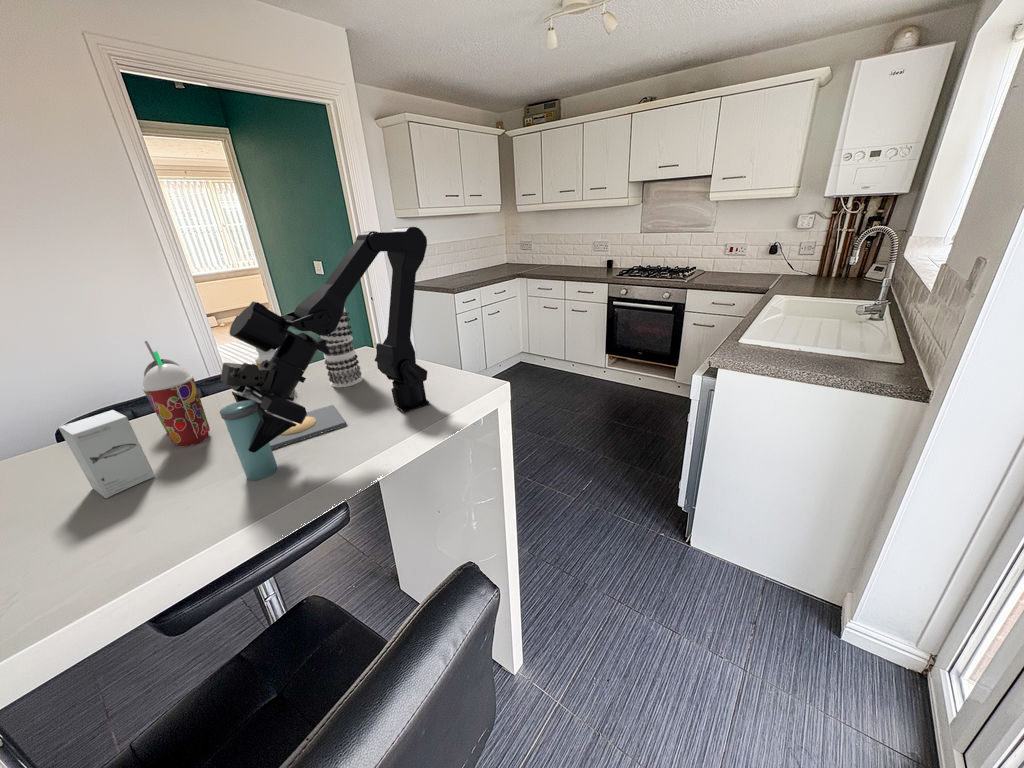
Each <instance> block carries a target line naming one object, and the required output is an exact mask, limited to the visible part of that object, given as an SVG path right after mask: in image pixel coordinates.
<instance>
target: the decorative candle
mask: <svg viewBox="0 0 1024 768" xmlns="http://www.w3.org/2000/svg"><path fill="white" fill-rule="evenodd" d="M349 315H350V313H349V312H348V311H346V305H345V306H344V313H343V315H342V317H341V319H340V322H339V324H338V326H337V328H336V329H335V330H334V331H333V332H332V333H331V334H327V335H318V337H317V339H319V338H321V339H324V340H326V345H327V347H328V350H329V354H324V353H323V357H324V364H325V365H326V366H325V369H326V370H327V376H328V381H329V382H330V386H331V387H332V388H346V387H350V386H355V385H357V384H359V383H360V382H362V380H363V377H362V371H361V365H358V364H359V360H358V355H357V353H356V350H355V348H354V347H355V346H354V344H353V340H354V337H353V336H352V334H353V331H352V330H351V329H352V325H350V324H348V322H350V320H351V318H350V317H348V316H349Z"/></svg>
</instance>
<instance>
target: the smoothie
mask: <svg viewBox="0 0 1024 768" xmlns="http://www.w3.org/2000/svg"><path fill="white" fill-rule="evenodd" d="M153 353H154V355H155V358H156V360H157V362H158V365H157V366H155V367H153V368H151V369H150V370H149V371H148V372H147V373H146V375H145V377H144V376H143V382H142V386H141V390H142V391H143V393H144V395H145V396H146V398H147V400H148V402H149V403H150V405H151V407H152V409H153V411H154V412H155V414H156V416H157V417H158V419H159V421H160V424H161V425H162V426H163V429H164V430H165V432H166V434H167V435H168V438H169V439H170V440H171V442H172V443H175V444H176V446H177V447H183V448H184V447H185V448H186V447H190V446H194V445H197V444H200V443H201V442H204V441H205V440H207V439H208V438H209V435H210V434H209V432H210V431H211V429H210V425H209V422H208V419H207V416H206V412H205V409H204V406H203V404H202V400H201V397H200V394H199V391H198V387H197V385H196V381H195V379H194V375H193V374H192V373H190V372H188V370H186V369H185V368H184V367H183V366H181V365H180V366H178V365H179V364H178V365H175V364H163V363H162V361H161V359H162V358H161V357H160V354H159V352H158V350H155V351H154V350H153Z"/></svg>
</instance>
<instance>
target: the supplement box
mask: <svg viewBox="0 0 1024 768" xmlns="http://www.w3.org/2000/svg"><path fill="white" fill-rule="evenodd" d="M58 429H59V431H60V433H61V435H62V438H64V440H65V443H66V444H67V445H68V448H69V449H70V451H71V452H72V454H73V456H74V458H75V460H76V461H77V463H78V465H79V467H80V469H81V470H82V473H83V474H84V476H85V478H86V479H87V481H88V483H89V485H90V487H91V488H92V489H93V490H94V491H96V492H97V493H98V494H99V495H101V496H102V497H103V498H105V499H108V498H110V497H112V496H114V495H117V494H119V493H121V492H123V491H125V490H127V489H130V488H131V487H134V486H136V485H139V484H142V482H145V481H147V480H151V479H154V478H155V477H156V474H155V472H154V470H153V468H152V466H151V464H150V462H149V460H148V458H147V456H146V454H145V451H143V448H142V446H141V444H140V442H139V440H138V438H137V435H136V433H135V430H134V429H133V427H132V425H131V422H130V421H129V418H128V416H126V415H124V414H122V413H120V412H119V411H116V410H114V409H111V410H108V411H104V412H101V413H99V414H95V415H92V416H90V417H89V416H88V417H85V418H82V419H80V420H79V419H78V420H77V421H74V422H70V423H66V424H63V425H61V426H59V427H58Z"/></svg>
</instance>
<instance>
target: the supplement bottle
mask: <svg viewBox="0 0 1024 768" xmlns="http://www.w3.org/2000/svg"><path fill="white" fill-rule="evenodd" d="M255 350H256V352H257V353H258V354H257V355H256V357H255V358H254V359H255V360H254V361H255V365H257V366H260V365H261V363H262V362H263V361H265V360H268V361H270V360H271V358H272V357H274V356H273V355H274V353H275V352H276V350H277V349H275V350H273V349H271V350H269V351H267V352H264V351H262V350H259V349H257V348H255Z"/></svg>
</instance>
